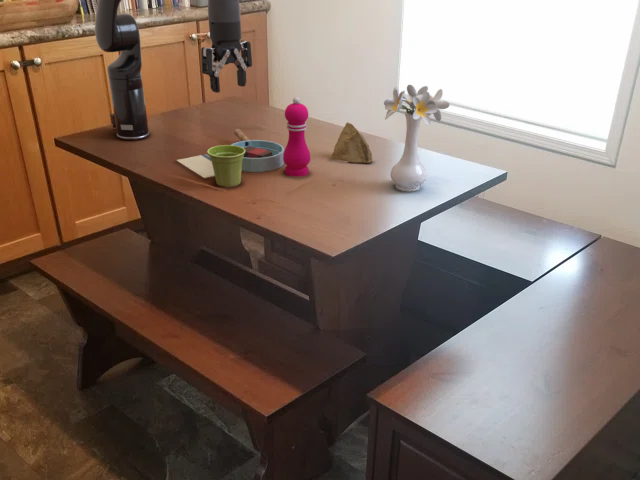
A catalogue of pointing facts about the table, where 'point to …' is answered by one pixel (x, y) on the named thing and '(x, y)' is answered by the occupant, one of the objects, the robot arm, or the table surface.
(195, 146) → the table surface
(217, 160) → the plant pot
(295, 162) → the pepper mill
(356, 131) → the rock
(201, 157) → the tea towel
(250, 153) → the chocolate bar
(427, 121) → the flower vase
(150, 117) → the table surface
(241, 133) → the pan handle
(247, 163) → the pan
